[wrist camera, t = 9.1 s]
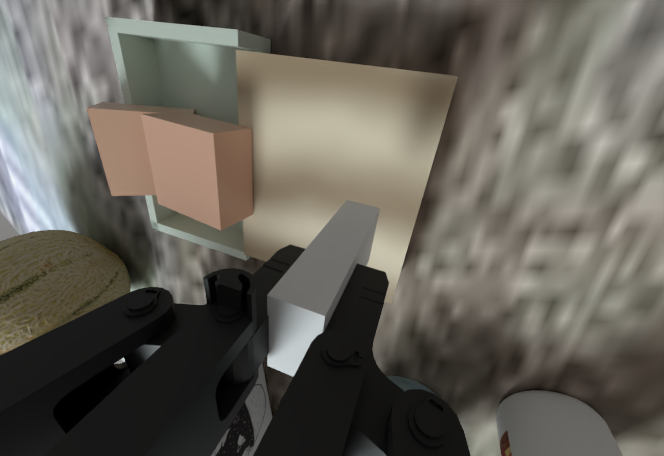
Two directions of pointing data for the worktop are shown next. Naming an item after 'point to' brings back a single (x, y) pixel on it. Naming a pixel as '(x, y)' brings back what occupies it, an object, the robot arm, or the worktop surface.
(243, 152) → the tile
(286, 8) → the worktop surface
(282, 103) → the board
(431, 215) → the worktop surface
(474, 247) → the worktop surface
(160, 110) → the tile
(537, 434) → the milk bottle
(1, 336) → the cantaloupe
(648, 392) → the worktop surface
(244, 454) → the cereal box
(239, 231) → the tray
